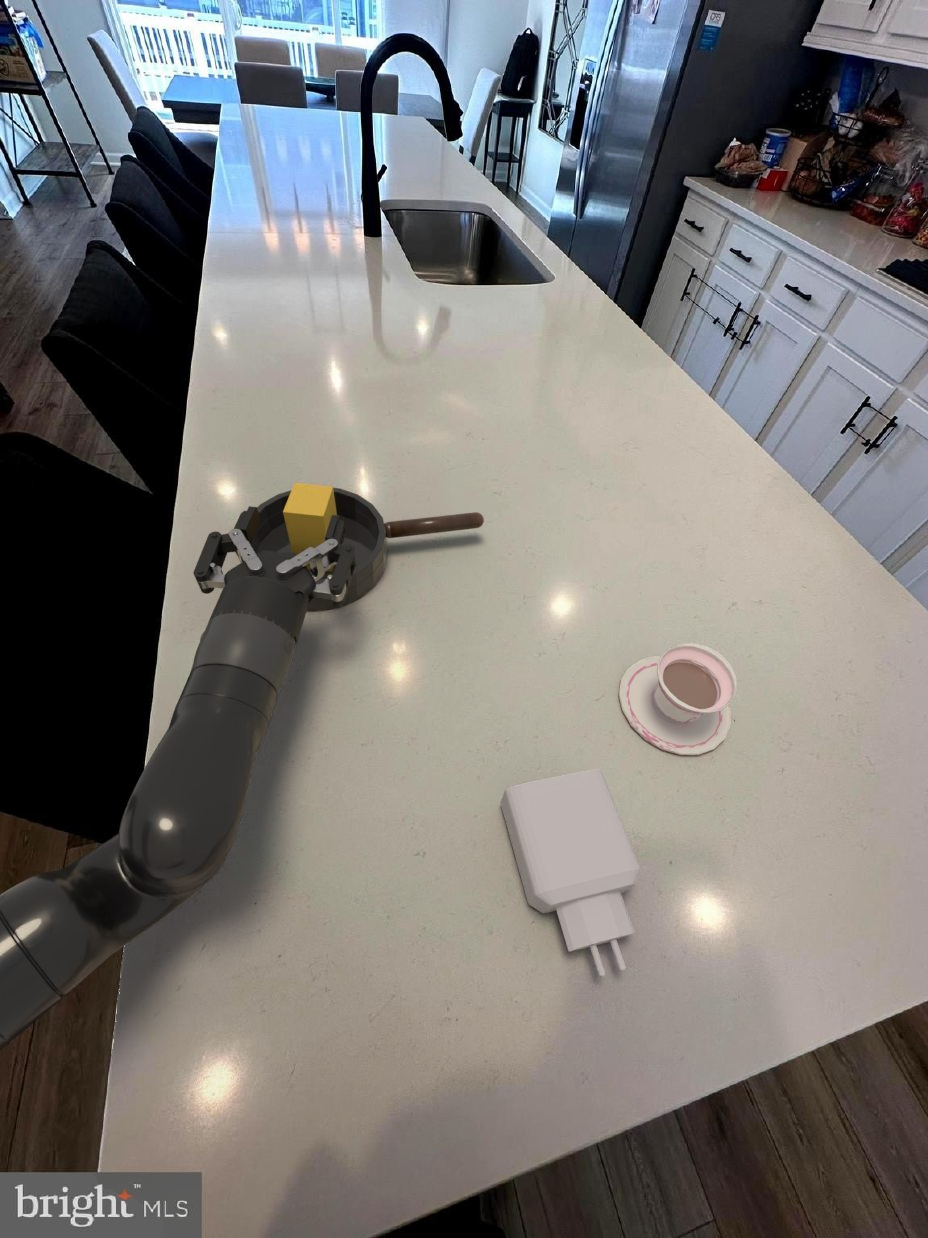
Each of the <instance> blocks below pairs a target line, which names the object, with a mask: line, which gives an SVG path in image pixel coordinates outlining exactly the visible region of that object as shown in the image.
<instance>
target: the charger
mask: <svg viewBox="0 0 928 1238" xmlns="http://www.w3.org/2000/svg"><path fill="white" fill-rule="evenodd" d="M499 803H500V806H501V809H502V813H503V817H504V820H505V824H506V828H507V831H508V835H509V839H510V843H511V846H512V851H513V854H514V857H515V861H516V865H517V869H518V872H519V876H520V879H521V882H522V887H523V889H524V893H525V898H526V901H527V904H528V905H529V906H530V907H532V908H534V909H535V910H537V911H539V912H540V913H542V914H547V913H552V912H556V914H557V917H558V921H559V924H560V927H561V931H562V934H563V937H564V941H565V943H566V947H567V951H568V952H574V951H579V950H583V949H587V948H589V949H590V952H591V954H592V958H593V960H594V964H595V968H596V970H597V973H598V976H599V977H605V976H606V971H605V967H604V964H603V961H602V958H601V955H600V952H599V949H598V945H602V944H606V943H610V946H611V949H612V952H613V955H614V958H615V960H616V963H617V966H618V969H619V971H621V972H623V971H625V970H626V969H627V966H626V963H625V960H624V958H623V955H622V952H621V949H620V946H619V943H618V940H620V939H623V938H626V937H629V936H632V935H635V934H636V931H635V928H634V925H633V923H632V920H631V918H630V914H629V911H628V908H627V905H626V904H625V901H624V898H623V895H622V894H623V893H625V892H626V891H628V890H630V889H631V888H632V887H634V886H635V884H636V882H637V880H638V877H639V874H640V872H641V871H642V870H641V866H640V864H639V861H638V859H637V856H636V853H635V851H634V849H633V846H632V844H631V841H630V838H629V836H628V834H627V831H626V828H625V825H624V823H623V821H622V818H621V815H620V813H619V811H618V808H617V806H616V803H615V801H614V798H613V795H612V793H611V790H610V788H609V785H608V783H607V781H606V777H605V775H604V773H603V771H602V769H601V768H592V769H585V770H580V771H575V772H571V773H566V774H561V775H557V776H551V777H547V778H541V779H536V780H532V781H527V782H522V783H518V784H515V785H512V786H509V787H507V788H505V790H504V791H503V794H502V797H501V799H500V802H499Z"/></svg>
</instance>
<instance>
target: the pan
mask: <svg viewBox="0 0 928 1238" xmlns="http://www.w3.org/2000/svg"><path fill="white" fill-rule="evenodd" d="M333 490H334V497H335V505H336V512H337V515H339V516H340V520H341V521H343V522H344V527H345V537H344V540H343V544H342V545H343V546H346V545H352V546H353V547H354V548H355V561H356V569H355V572H354V575H353V578H352V581H351V584H350V587H349V590H348V593H347V596H346V599H345V602H344V604H343V605H342V606H338V607H337V606H334V605H333V604H332V601H331V600H329V599H322V598H316V597H315V599H314V600H313V601H311V602H310V604H309V605H308V607H307V611H306V612H316V611H326V610H327V611H328V610H334V609H338V608H341V607H344V606H346V605H349V604H352V603H354V602H355V601H357V600H358V599H361V598H362V597H364V596H366V594H368V593H369V592H370V591H372V589H373V588H375V586H376V585H377V584H378V583H379V581H380V579H381V578H382V576H383V574H384V572H385V569H386V565H387V557H388V546H387V542H388V541H387V538H386V529H385V525H384V523H385V521H384V517H383V516H382V514H381V513H380V512H379V511H378V509H377V508H376V506H375V505H374V504H373V503H372V502H370V501H368V500H367V499H366V498H364V497H362V496H361V495H359V494H358V493H356V492H352V491H349V490H346V489H344V488H340V487H333ZM291 491H292V489H291V490H287V491H284V492H281V493H278V494H275V495H274V496H272V497H270V498H268V499H267V500H265V501H263V502H262V503H260V504H259V505H258V506H256V507H257V509H258V512H259V516H260V524H259V527H258V529H257V531H256V534H255V536H254V538H253V541H252V543H251V547H252V548H253V550H254V552H255V553H256V554H257V553H261V552H263V550H267V551H273V552H276V553H292V549H291V544H290V540H289V536H288V531H287V527H286V523H285V519H284V514H283V510H284V508H285V505H286V503H287V500H288V498H289V496H290V493H291ZM336 565H337V564H336ZM336 565H334V568H333V571H332V572H325V574H324V576H323V577H322V578H320V579H319V580H317V581H316V584H321V583H323V582H324V581H325V579H326V578H327V576H328V575H332V576H333V573H334V570H335V567H336Z"/></svg>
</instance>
